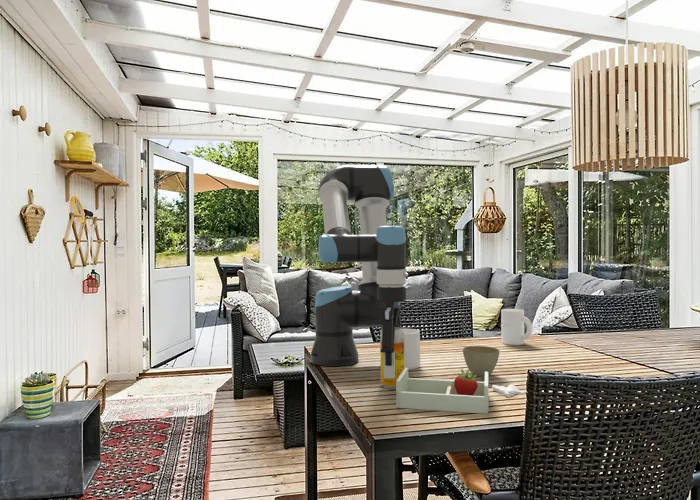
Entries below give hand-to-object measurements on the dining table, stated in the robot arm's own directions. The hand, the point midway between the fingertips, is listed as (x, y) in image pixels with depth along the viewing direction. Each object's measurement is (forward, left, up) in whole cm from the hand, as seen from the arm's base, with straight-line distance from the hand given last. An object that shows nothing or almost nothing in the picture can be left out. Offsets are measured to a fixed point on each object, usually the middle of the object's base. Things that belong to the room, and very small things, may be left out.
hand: (392, 373), depth 138 cm
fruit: (+19, -11, -3) cm, 22 cm away
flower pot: (+22, +17, -4) cm, 28 cm away
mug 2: (+34, +66, -3) cm, 74 cm away
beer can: (0, 0, -3) cm, 3 cm away
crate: (+14, -11, -3) cm, 18 cm away
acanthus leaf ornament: (+29, +1, -4) cm, 29 cm away
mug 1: (-1, +21, -4) cm, 21 cm away
